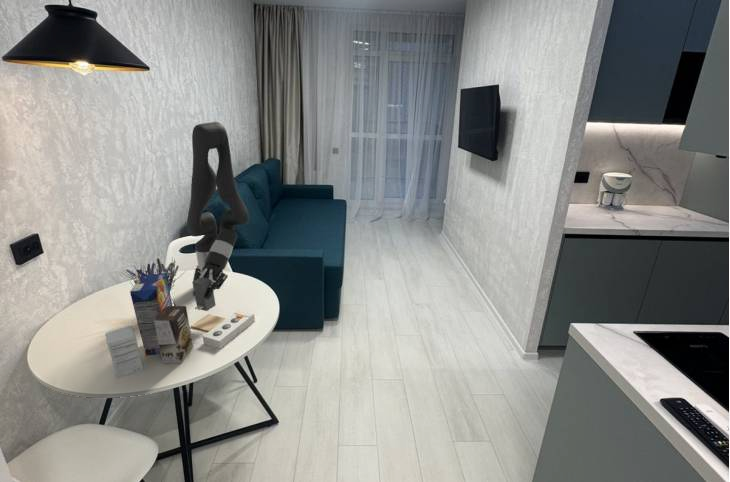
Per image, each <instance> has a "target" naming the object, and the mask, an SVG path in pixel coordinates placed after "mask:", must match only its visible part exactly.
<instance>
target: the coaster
mask: <svg viewBox="0 0 730 482" xmlns="http://www.w3.org/2000/svg"><path fill="white" fill-rule="evenodd" d="M225 319H227V318H225V317H222V316H217V315H214V314H210V313H208V314H207V315H204V316H203V317H201V318H200V319H199V320H198V321H196V322H194V323H192V325H190V328H194V329H196V330H200V331H204V332H206V333H208V332H209V331H210V330H212V329H213V328H214V327H216V326H217V325H219V324H220V323H221V322H223V321H224V320H225Z"/></svg>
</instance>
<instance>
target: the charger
mask: <svg viewBox="0 0 730 482" xmlns="http://www.w3.org/2000/svg"><path fill="white" fill-rule="evenodd" d="M209 283H210V279H209V278H205V277H203V278H199V279H197V280H195V281H193V280H192V289H193V291H194V294H195V296H194V298H195V303H196V306H195V307H194V309H195V310H198V311H205V312H208V311H209V310H211V309H213V308H214V307H216V304H217V303H216V298H215V294H214V291H213V293H212V295H211V297H210V298H209V299H205V298H204V295H205V293H206V290H207V288H209Z"/></svg>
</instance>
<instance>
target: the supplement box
mask: <svg viewBox="0 0 730 482" xmlns="http://www.w3.org/2000/svg"><path fill="white" fill-rule="evenodd" d="M105 338H106V344H107V349H108V351H109V354H110V358H111V362H112V365H113V368H114V369H113V370H114V372H115V376H116V378H118V377H119V378H122V377H124V375H125V376H128V375H130V374H133V373H137V372H139V371H142V370H143V369H144V366H143V360H142V357H141V353H140V348H139V345H138V341H137V337H136V334H135V331H134V328H133V325H128V326H124V327H121V328H118V329H115V330H111V331H108V332H105ZM127 374H128V375H127Z"/></svg>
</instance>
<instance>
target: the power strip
mask: <svg viewBox="0 0 730 482" xmlns="http://www.w3.org/2000/svg"><path fill="white" fill-rule="evenodd" d="M255 321H256V320H255V313H253V312H249V311H245V310H241V309H240V310H239V309H237V310H236V311H234V312H233V313H232V314H231V315H230V316H229V317H227V318H226V319H225V320H224V321H223V322H221V323H220V324H219V325H217V326H216V327H214V328H213V329H212V330H210V331H209V332H206V333H205V334H203V335H202V342H203V344H204V345H206V346H207V345H208V346H210V347H214V348H218V349H222V348H224V347H225V346H226V345H227V344H228V343H230V342H231V341H232V340H233V339H234V338H236V337H237V336H238V335H239V334H241V333H242V332H243V331H245V330H246V329H247V328H248V327H249V326H251V325H252V324H253V323H254V322H255Z"/></svg>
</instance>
